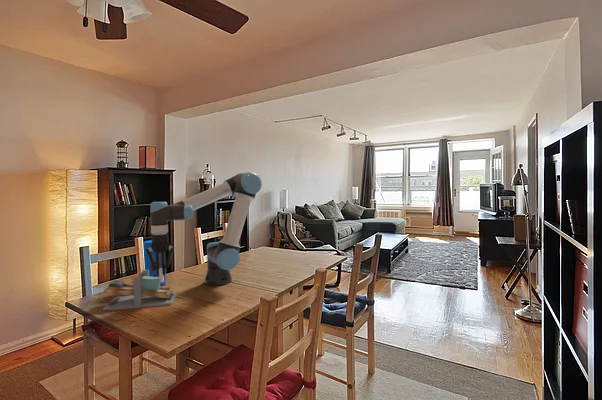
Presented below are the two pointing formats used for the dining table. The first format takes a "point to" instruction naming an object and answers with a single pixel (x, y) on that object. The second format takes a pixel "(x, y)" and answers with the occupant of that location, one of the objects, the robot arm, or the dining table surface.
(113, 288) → the beam
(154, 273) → the thermos
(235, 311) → the dining table surface
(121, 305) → the stand
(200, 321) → the dining table surface
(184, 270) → the dining table surface
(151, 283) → the block
